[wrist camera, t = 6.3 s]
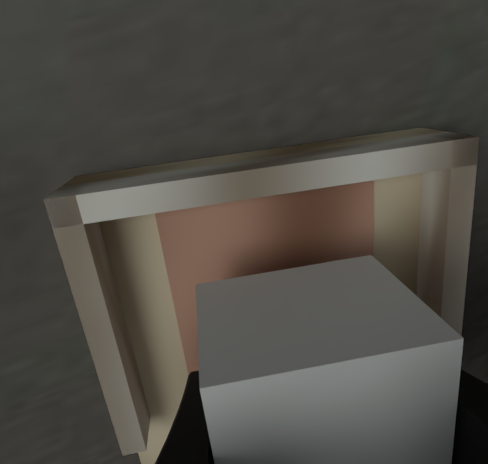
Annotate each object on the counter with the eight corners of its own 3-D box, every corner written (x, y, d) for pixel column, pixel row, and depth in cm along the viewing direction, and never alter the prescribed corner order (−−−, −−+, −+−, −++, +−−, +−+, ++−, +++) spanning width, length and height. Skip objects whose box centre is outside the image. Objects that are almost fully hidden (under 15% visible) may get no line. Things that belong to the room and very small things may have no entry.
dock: (420, 127, 14) (479, 136, 11) (409, 426, 19) (447, 485, 16) (74, 176, 13) (43, 200, 10) (157, 478, 18) (152, 551, 15)
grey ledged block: (357, 242, 12) (528, 396, 6) (359, 416, 15) (482, 649, 8) (195, 268, 12) (202, 462, 6) (226, 442, 14) (254, 709, 8)
